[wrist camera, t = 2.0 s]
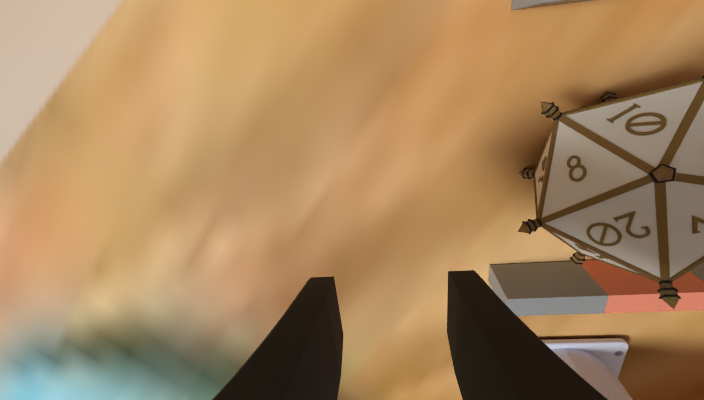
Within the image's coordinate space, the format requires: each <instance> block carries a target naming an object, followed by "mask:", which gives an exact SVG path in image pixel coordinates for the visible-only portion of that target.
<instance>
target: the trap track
mask: <svg viewBox="0 0 704 400" xmlns="http://www.w3.org/2000/svg"><path fill="white" fill-rule="evenodd" d="M582 1H590V0H512V6H511V10H517V9H525V8H533V7H541V6H550V5H558V4H566V3H574V2H582ZM489 283H490V285H491V287H492V289H493V291H494V293H495V294H496V295H497V296H498V297H499V298H500V299H501V300H502V301H503V302H504V303H505V304H506V305H507V306H508V307H509V308H510V309H511V311H512V312H513V313H514V314H515V315H516V316H531V315H564V314H597V313H629V312H662V311H695V310H704V262H703V263H701V264H700V265H698V266H697V267H695V268H694V269H692V270H690V271H689V272H687V273H686V274H684V275H683V276H681V277H679V278H678V279H676V280H675V281H673V282H672V285H673V286H674V288H676V289H677V290H678V292H677V293H678V295H679V296H680V297H681V299H679V300H678V302H677V305H676V307H675V309H673V308H671V307H670V306H669V305H668V304H667V303H666V302H664V301H663V300H662V299H659V297H660V293H659V292H657V290H659V286H660V285H659V283H658V282H656V281H653V280H650V279H647V278H645V277H642V276H639V275H636V274H634V273H631V272H628V271H626V270H623V269H620V268H617V267H615V266H612V265H609V264H606V263H604V262H601V261H598V260H585V261H583V265H581V264H579V265H574V266H573V265H572V261H561V262H539V263H518V264H496V265H490V269H489Z"/></svg>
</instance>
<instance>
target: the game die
mask: <svg viewBox="0 0 704 400" xmlns="http://www.w3.org/2000/svg"><path fill="white" fill-rule="evenodd" d="M615 95H616V93H612V92H609V91H605V93H604V94H603V96H601V99H602V102H603V103H599V104H595V105H591V106H587V107H583V108H579V109H576V110H572V111H568V112H564V113H561V112H559V108H558V106H555V105H554V102H552V103H547V102H541V107H542V113H541V114H545V115H546V117H547V118H548V117H550V118H552V119H553V120H554V122H553V125H552V127H551V130H550V132H549V135H548V138H547V140H546V143H545V145H544V148H543V150H542V153H541V156H540V158H539V161H538V163H537V166H536V169H535V171H533V170H532V169H531V168H529V169H527V168H525V169H524V170H522V171H521V172H519V174H520V175H521V176H522V177H523V179H525V178H528V179H530V178H533V177H534V188H535V204H536V219H535V220H530V219H528V221H526V222H524V221H523V222H522V223H523V224H522V225H521V227H520V229H519V230H518V232H525V233H529V234H531V232H532V231H534V232H535V231H536V230H537V228H538V227H543V228H544V229H546V230H547V231H549V232H550V233H551V234H553V235H554V236H556V237H557V238H559V239H560V240H561V241H563V242H564V243H566V244H567V245H569V246H570V247H572V248H573V249H574V250H576V251H577V252H576V253H574V254H573V256H572V257H570V259H571V261H572V265H573V266H574V265H579V264H581V265H583V261H585V256H587V257H590V258H593V259H596V260H598V261H601V262H604V263H606V264H609V265H612V266H615V267H617V268H620V269H623V270H626V271H628V272H631V273H634V274H636V275H639V276H642V277H645V278H647V279H650V280H653V281H656V282H658V283H659V285H660V286H659V290H657V292H659V293H660V297H659V299H662V300H663V301H664V302H666V303H667V304H668V305H669V306H670V307H671V308H673V309H675V307H676V305H677V302H678V300H679V299H681V297H680V296H679V295H678V293H677V292H678V290H677V289H676V288H674V286H673V285H672V282H673V281H675V280H676V279H678V278H679V277H681V276H683V275H684V274H686V273H687V272H689V271H690V270H692V269H694V268H695V267H697V266H698V265H700V264H701V263H703V262H704V76H703V77H701V78H697V79H693V80H689V81H685V82H681V83H677V84H674V85H670V86H666V87H662V88H658V89H654V90H650V91H646V92H642V93H638V94H634V95H630V96H626V97H623V98H619V99H616V98H617V97H615Z"/></svg>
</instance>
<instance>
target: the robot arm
mask: <svg viewBox="0 0 704 400" xmlns="http://www.w3.org/2000/svg"><path fill="white" fill-rule="evenodd" d="M447 334H448V339H449V345H450V350H451V355H452V361H453V366H454V371H455V375H456V378H457V382H458V385H459V388H460V392H461V395H462V398H463V400H633V399H632V398H631V396H630V395H629V394H628V392H627V391H626V389H625V388H624V387H623V385H622V384H621V382H620V381H619V380H618V376H619V373H620V370H621V367H622V365H623V362H624V359H625V356H626V353H627V350H628V346H629V345H628V344H627V342H626V341H625V340H624V339H622V338H602V339H559V340H541V339H540V338H539V337H538V336H537V335H536V334H535V333H534V332H533V331H531V330H530V329H529V328H528V327H527V326H526V325H525V324H524V323H523V322H522V321H521V320H520V319H519V318H518V317H517V316H516V315H515V314H514V313H513V312H512V311H511V309H510V308H509V307H508V306H507V305H506V304H505V303H504V302H503V301H502V300H501V299H500V298H499V297H498V296H497V295H496V294H495V293H494V291H493V290H492V289H491V288H490V287H489V286H488V285H487V284H486V283H485V282H484V280H483V279H482V278H481V277H480V276H479V275H478V274H477V273H476V272H475V271H474V270H471V271H449V272H448V312H447ZM342 349H343V330H342V324H341V318H340V312H339V306H338V299H337V293H336V287H335V281H334V277H316V278H310V279H309V280H308V281H307V283H306V284H305V285H304V287H303V288H302V290H301V291H300V292H299V294H298V295H297V297H296V298H295V300H294V301H293V302H292V304H291V305H290V306H289V308H288V309H287V311H286V312H285V313H284V315H283V316H282V317H281V319H280V320H279V321H278V323H277V324H276V325H275V326H274V328H273V329H272V330H271V332H270V333H269V334H268V336H267V337H266V338H265V339H264V341H263V342H262V343H261V344H260V346H259V347H258V348H257V349H256V351H255V352H254V353H253V354H252V355H251V356H250V358H249V359H248V360H247V361H246V362H245V363H244V365H243V366H242V367H241V368H240V369H239V371H238V372H237V373H236V374H235V375H234V376H233V378H232V379H231V380H230V381H229V382H228V383H227V384H226V385H225V386H224V388H223V389H222V390H221V391H220V392H219V393H218V394H217V395H216V396H215V397H214V398H213V399H212V400H337V396H338V390H339V383H340V377H341V366H342Z"/></svg>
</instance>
